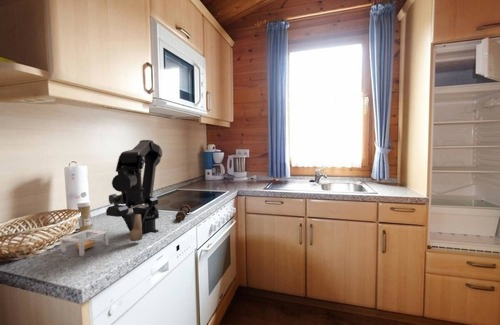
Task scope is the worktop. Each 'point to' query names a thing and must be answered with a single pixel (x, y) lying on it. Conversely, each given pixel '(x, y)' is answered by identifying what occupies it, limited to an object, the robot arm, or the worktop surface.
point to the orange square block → (86, 244)
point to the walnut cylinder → (136, 229)
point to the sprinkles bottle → (84, 215)
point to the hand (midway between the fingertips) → (135, 228)
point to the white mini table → (80, 252)
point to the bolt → (182, 213)
